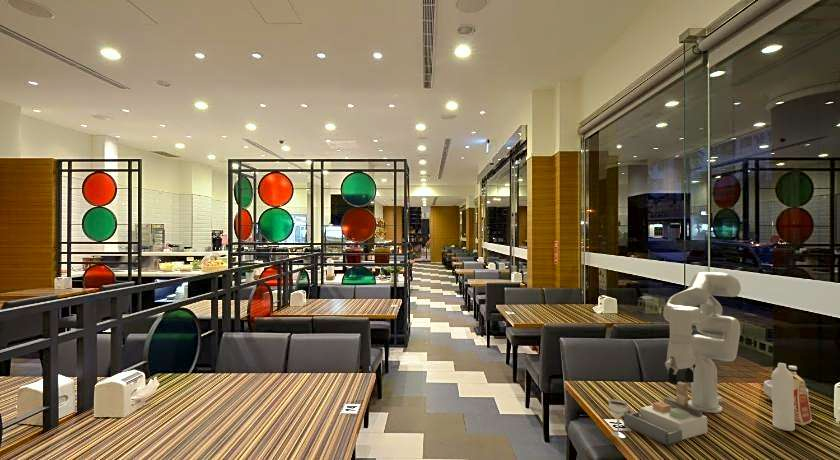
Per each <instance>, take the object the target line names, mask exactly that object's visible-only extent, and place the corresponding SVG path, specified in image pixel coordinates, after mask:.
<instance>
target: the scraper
mask: <svg viewBox="0 0 840 460" xmlns="http://www.w3.org/2000/svg"><path fill="white" fill-rule="evenodd" d="M688 386H689V385H688V383H686V382H682V381H677V385H675V395H676V396H675V399H674V398H671V397H668V396H667V397H663V399H662V400H663V401H662V402H663V403H666V404H668V405H671V407H672V408H679V409H682V410H684V411H687V412H689V414H691V415H693V416H696V417H701V416H702V415H703V411H702V409H699V408H696V407H694V406H691V405H688V401H689V396H688V395H689V393H688V392H689V391H688V390H689V389H688V388H689V387H688Z"/></svg>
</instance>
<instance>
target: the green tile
mask: <svg viewBox="0 0 840 460" xmlns="http://www.w3.org/2000/svg"><path fill="white" fill-rule="evenodd" d="M669 415H671V416H673V417H676V418H678V419H685V418H689V412H687V411H684V410H682V409H679V408H674V409H670V410H669Z"/></svg>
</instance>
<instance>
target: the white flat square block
mask: <svg viewBox="0 0 840 460" xmlns="http://www.w3.org/2000/svg"><path fill="white" fill-rule="evenodd" d="M671 409H674V408H672V407H671ZM639 411H640V419H641V420H644V421H646V422H648V423H650V424H653V425H655V426H657V427H659V428H662V429H664V430H666V431H668V433H670V432H674V431H678V430H682V441H684V440H686V439H689V438H694V437H697V436H700V435H704V434H708V416H706V415H704V414H702V416H701V417H696V416H693V415H691V414H689V418H685V419H678V418H676V417H673V416H671V415H669V411H668V412H661V411H658V410H656V409H653V404H652V405H648V406H647V405H646V406H643V407H640V410H639Z"/></svg>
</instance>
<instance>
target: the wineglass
mask: <svg viewBox="0 0 840 460" xmlns="http://www.w3.org/2000/svg"><path fill="white" fill-rule="evenodd" d="M628 405H629V403H628V402H627V401H625V400H622V399H619V398H617V399H616V398H611V399H608V410H609V412H610V414H612V415H613V416H615V417H616V418H617V419H616V420H617V421H616V422H617V431H611V433H610V434H611V435H612V436H613V437H616V438H618V439H619V438H623V439H624V438H626V437H627V436H626V434H625V433H623V432H620V419H621V418H622V417H623V418H624V416H625V415H626V414H627V413H628V412H629V407H628ZM628 414H629V413H628Z"/></svg>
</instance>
